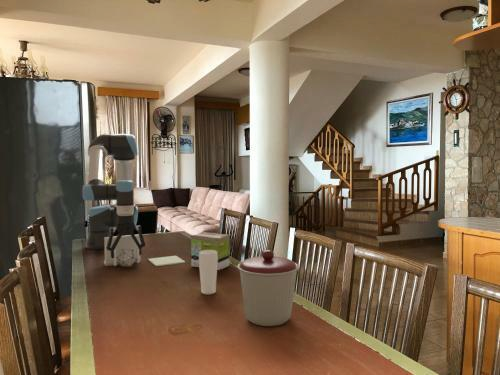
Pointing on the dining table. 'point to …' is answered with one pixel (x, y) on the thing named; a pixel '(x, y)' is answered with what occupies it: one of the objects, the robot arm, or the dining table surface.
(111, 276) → the dining table surface
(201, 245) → the tea box
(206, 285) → the drinking glass
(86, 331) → the dining table surface
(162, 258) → the tile
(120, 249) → the screen
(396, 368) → the dining table surface
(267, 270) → the canister
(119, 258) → the game die
